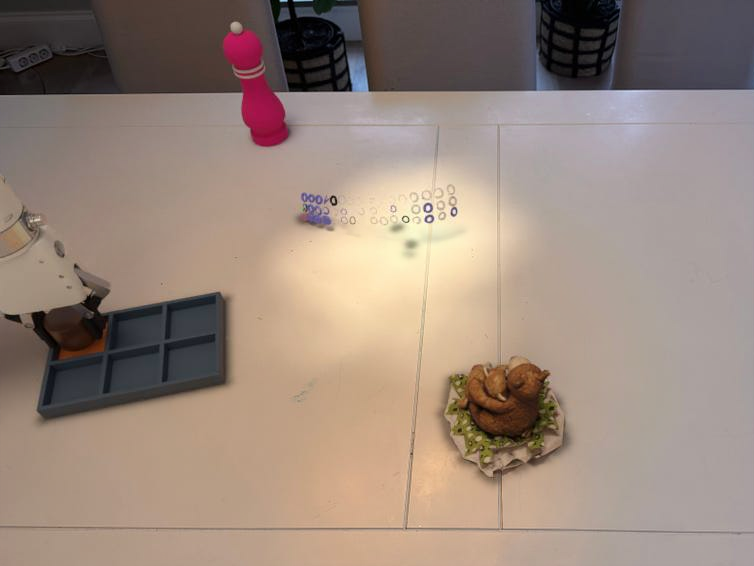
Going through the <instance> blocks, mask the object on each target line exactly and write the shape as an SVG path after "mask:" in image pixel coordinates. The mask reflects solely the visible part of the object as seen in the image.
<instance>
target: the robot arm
mask: <svg viewBox="0 0 754 566" xmlns="http://www.w3.org/2000/svg"><path fill="white" fill-rule="evenodd" d="M47 223H48V222H47V218H46V216H45V215H44V213H41V212H39V213H35V212H31V211H30V209H29V208H28V207H27V206H26V204H23V202H22V201H21V200H20V198H19V197H18V195H17V194H16V193H15V192H14V190H13V188H12V187H11V186H10V184H9V182H8V181H7V180H6V178H5V177H4V176H3V174H2V173H1V172H0V318H4V319H6V320H7V321H10V322H15V323H17V324H21V325H22V326H23V328H24V329H27V330H32V331H34V333H35V334H36V336H37V337H38V338H39V339H40V340H41V341H43V342H44V343H45V344H46V345H47V346H48V348H49V347H50V348H56V346H57V344H58V343H57V342H56V341H55V340H54V339H53V337H52V336H51V335H50V334H49V333H48V331H47V330H46V329H45V328H44V325H43V321H44V318H45V316H46V314H47V312H45V311H48V310H52V309H54V308H59V307H65V306H70V307H72V308H73V309H74V310H76V311H77V312H78V313H79V314H81V315H82V316H83V318H82V322H83V324H84V325H85V326H86V328H87V329H88V330H89V332H90V333H91V334H92V336H93V337H94V338H95V339H97V340H100V339H102V337H103V330H104V329H106V321H105V319H104V318H103V316H102V315H101V314H100V313H101V312H100V311H99V309H98V308H99V307H100V305H101V304H102V301H103V300H104V299H106V298H107V296H108V295H109V294H110V293H111V289H112V283H111V282H110V281H108V280H106V279H104V278H101V277H100V276H96V275H94V274H92V273H90V271H89V268H87V266H86V265H85V263H83V261H82V260H81V259H80V257H79V256H78V254H77V253H76V252H75V251H74V250H73V248H71V246H70V245H69V244H68V243H67V242H66V241H65V240H64V238H63V237H61V236H60V235H59V233H58V232H57V231H55V230H54V229H53V228H52V227H50V225H48V224H47ZM85 288H87V289H90V290H91V291H90V293H89V292H88V291H87V290H86V289H85Z"/></svg>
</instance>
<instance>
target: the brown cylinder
mask: <svg viewBox="0 0 754 566" xmlns="http://www.w3.org/2000/svg"><path fill="white" fill-rule="evenodd" d="M82 318H83V316H82V315H81V314H79V313H78V312H77V311H76V310H74V309H73V308H72V307H70V306H65V307H59V308H54V309H49V311H48V312H46V316H45V318H44V321H43V325H44V328H45V329H46V330H47V331H48V333H49V334H50V335H51V336H52V337H53V339H54V340H55V341H56V342H57V343H58V345H59V346H60V347H61V348H62V349H63V350H65V351H69V352H75V351H80V350H83V349H85V348H87V347H89V346H90V345H91V344H93V343H94V342H95V340H96V339H95V338H94V337H93V336H92V334H91V333H90V332H89V330H88V329H87V328H86V326H85V325H84V324H83V322H82Z"/></svg>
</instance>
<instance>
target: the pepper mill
mask: <svg viewBox="0 0 754 566" xmlns="http://www.w3.org/2000/svg"><path fill="white" fill-rule="evenodd" d="M229 28H230V32H229V33H228V34H226V36H225V37H224V39H223V42H222V50H223V55H224V56H225V58H226V60H227V61H228V62H229V63H230V64H231V68H232V70H233V74H234V75H235V76H236V77H237V78H238V80H239V81H240V85H241V88H242V98H241V107H240V112H241V117H242V118H241V119H242V121H243V123H244V125H245V127H247V128H249V133H250V136H251V139H252V141H253V143H254V144H255V145H257V146H260V147H273V146H277V145H280V144H281V143H283V142H284V141H286V140H287V138H288V136H289V130H288V127H287V124H286V122H285V119H286V109H285V106H284V104H283V102H282V101H281V99H280V98H279V97H278V95H277V94H275V92H274V91H273V89H272V88H271V87H270V86H269V84H268V82H267V79H266V77H265V72H266V65H265V60H264V59H263V58H262V57H263V54H264V48H263V43H262V41H261V39H260V38H259V37H258V35H256V34H255V33H254V32H252V31H250V30H248V29H244V28H243V25H242V24H241V23H240V22H239V21H233V22H231V23H230V27H229Z"/></svg>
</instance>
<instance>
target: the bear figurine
mask: <svg viewBox="0 0 754 566" xmlns="http://www.w3.org/2000/svg"><path fill="white" fill-rule="evenodd" d="M550 376H551V372H550V370H549V369H544V370H541V368H540V367H539V366H538V365H535V364H533V363H531V361H530V360H529V359H528V358H527V357H526V356H522V355H515V356H511V358H510V359H509V362H508V363H506V364H499V365H495V366H494V367H493V364H492V363H491V362H485V363H484V364H482V363H477V364H474V365H473V366H472V367H471V370H470V372H468V373H460V374H456V373H455V374H451V375H449V377H448V380H449V382H450V385H451V386H450V390H449V394H448V399H447V404H446V407H445V410H444V412H443V415H444V418H445V422H446V425H447V426H446V427H447V430H448V434H449V437H451V439H452V440H453V442H454V444H455V446H456V448H457V450H458V451H459V453H460V454H461V456H462V458H463V459H464V460H468V461H470V462H473V463H475V464H477V467H478V469H479V470H480V471H482V472H483V473H484V475H486V477H488V478H492V477H493V478H494V471H496V470H499V471H504V470H507V469H511V468H514V467H517V466H520V465H523V464H524V463H527V462H528V461H530V460H532V459H533V458H536V459H537V458H540V457H544V456H545V455H547V454H550V453H551V452H552V451H554V450H556V449H558V448H559V447H561V446H562V445H563V440H564V427H565V416H566V415H565V413H564V411H563V409H562V408H561V407H560V405H559V402H558V400H557V397H556V395H555V393H554V391H553V389H552V388H550V387H549V385H550V381H546V379H548V377H550ZM449 426H450V427H449ZM516 459H518V460H519V461H521V462H523V463H518V464H513V465H509V466H507V465H508V464H510V463H511V462H512V461H513V460H516Z"/></svg>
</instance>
